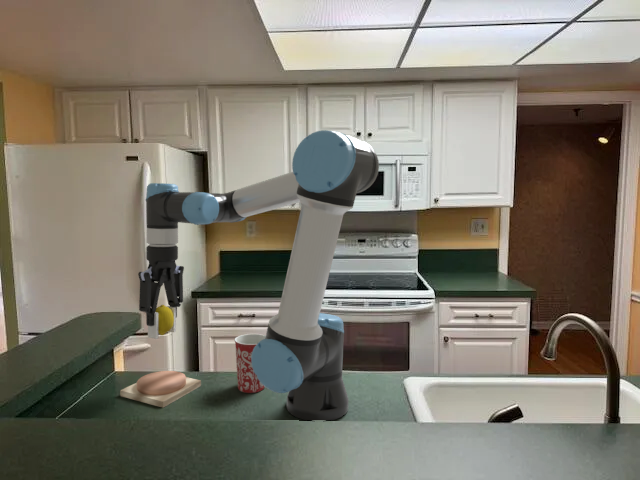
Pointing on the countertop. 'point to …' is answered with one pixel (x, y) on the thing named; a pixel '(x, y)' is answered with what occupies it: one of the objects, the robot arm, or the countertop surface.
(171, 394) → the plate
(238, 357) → the mug
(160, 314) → the lemon
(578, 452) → the countertop surface
